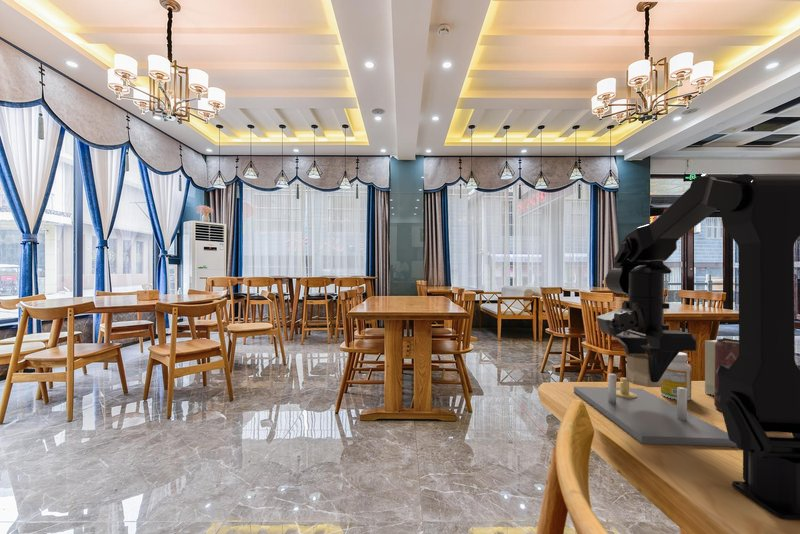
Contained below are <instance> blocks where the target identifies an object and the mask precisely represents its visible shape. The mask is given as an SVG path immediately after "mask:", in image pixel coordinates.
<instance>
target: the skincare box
mask: <svg viewBox="0 0 800 534" xmlns="http://www.w3.org/2000/svg"><path fill="white" fill-rule="evenodd" d="M716 342H717V339H713V340H712V339H711V340H710V339H708V340H706V339H705V340H704V393H705V394H707V395H710V394H711V396H713V395H714V388H715V343H716Z"/></svg>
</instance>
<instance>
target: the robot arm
mask: <svg viewBox="0 0 800 534" xmlns="http://www.w3.org/2000/svg"><path fill="white" fill-rule="evenodd" d="M689 186H690V187H689V188H688V189H687V190H686V191H684V193H682V194H681V195H680V196H679V197H678V198H677V199H676V200H675V201H674V202H672V203H671V205H670V206H669V207H668V208H666V209H665V210H664V211H663V212H662V213H661V214H660V215H659V216H658V217H657V218H656V219H654V220H653V221H652V222H650V223H649V224H645V225H642V226H639V227H636V228H634V229H633V230H631V231H629V232H628V233H627V234H626V236H625V237H624V239H623V240H622V242H621V245H620V247H619V248H618V251H617V253H616V254H615V257H614V258H613V260H614V262H613V268H611V269H610V270H609V271H608V272H607V273H606V276H605V278H604V281H605V286H606V288H607V289H608V290H609V291H611V292H612V293H616V294H621V295H622V294H623V295H628V296H627V298H628V299H627V300H623V302H622V303H621V308H619V309H616V310H612V311H609V312H606V313H603V314H599V315H597V316H596V320H597V323H598V326H599V328H600V331H601V333H602V334H604V333H605V334H608V336H613V338H614V339H616V340H617V342H619V343H621V344H622V346H623V349H624V351H625V354H626V356H627V355H628V354H630V353H640V354H648V360H649V371H650V378H651V381H652V382H658V381H659V380H660V378H661V377H662V375H663V374H664V372H665V371H666V369H667V368H668V366H669V365H670V363H671V362H672V361H673V359H674V358H675V357H676V356H677V354H678V353H679V352H682V353H684V351H688V352H689V351H692V352H693V351H695V352H696V351H697V349H698V348H697V346H698V345H697V343H698V341H697V338H696V337H695V336H694V335H693V333H689V332H686V331H681V330H674V329H673V330H671V329H670V325H669V324H664V312H665V311H664V310H670V302H669V303H668V302H665V275H666V274H668V275H669V274H671V273H672V270H671V269H670V268H669V267H668V266H667V265H666V264H665V263H664V262H665V261H667V260H668V259H669V258H670V257H671V256H672V255H673V254H674V252H675V251H676V250H678V249H677V248H678V244H677V242H678V241H679V240H680V239H681V238H682V237H684V235H686V234H687V233H689V232H690V231H691V230H692V229H694V228H695V227H697V225H698V224H700V223H701V222H703V221H704V220H706V218H708V217H709V216H710V215H712V214H713V213H714V212H715V211H717V210H720V217H721V222H722V223H721V224H722V226H723V228H724V229H725V231H727V233H728V234H729V236H730V237H731V238H732V240H733V241H734V242H735V243H736V244H737V250H738V255H737V256H738V340H739V356H738V358H737V359H736V360H735V361H734V363H733V364H732V365H731V366H720V367H719V370H718V378H719V389H718V392H717V396H720V405H721V409H722V411H721V413H722V417H723V420H724V424H725V428H726V432H727V433H728V437H729V439H730V441H732V442H734V443H736V445H737V447H736V448H738V449H740V450H742V480H744V481H737V480H734V481H731V486H732V487H733V488H734V489H736V490H738V491H739V492H741V493H742V494H743V495H745V496H747V497H748V498H750V499H751V500H753V501H754V502H756V503H757V504H759V505H760V506H762V507H763V508H765V509H766V510H767V511H768V512H771V513H772V514H773V515H775V516H776V517H779V518H782V519H789V520H790V519H792V520H795V519H796V520H800V367H799V366H798V364H797V363H796V345H795V344H796V340H795V339H796V337H795V331H796V327H795V322H796V321H795V320H796V319H795V315H796V314H795V243H796V242H797V241H798V240H799V238H800V174H799V173H745V174H744V173H743V174H738V175H735V174H732V173H706V174H702V175H698V176H696V177H694V178H693V180H692V181H691V183H690V185H689ZM767 433H777V434H792V437H791V436H788V437H787V436H772V435H771V436H769V435H768V434H767Z"/></svg>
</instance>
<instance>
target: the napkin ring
mask: <svg viewBox="0 0 800 534" xmlns="http://www.w3.org/2000/svg"><path fill="white" fill-rule="evenodd" d="M625 378H626V380H627V381H629V384H630V383H631V384H632V385H635V386H636V385H637V386H641V387H644V388H645V387H646V388H661V386H662V385H663V375H662V377H661V378H660V380H659V381H658V382H652V381H651V378H650V371H649V360H648V353H645V354H640V353H630V354H628V355H626V377H625Z"/></svg>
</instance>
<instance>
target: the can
mask: <svg viewBox="0 0 800 534" xmlns="http://www.w3.org/2000/svg"><path fill="white" fill-rule="evenodd" d="M716 340H717V342H716V343H715V388H714V396H713V397H714V406H715V408H716V410H718V411H720V412H722V409H721V405H720V396H717V392H718V389H719V378H718V370H719V367H720V366H731V365H732V364H733V363H734V361H735V360H736V359H737V358H738V356H739V339H733V338H732V339H729V338H718V339H716Z"/></svg>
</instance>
